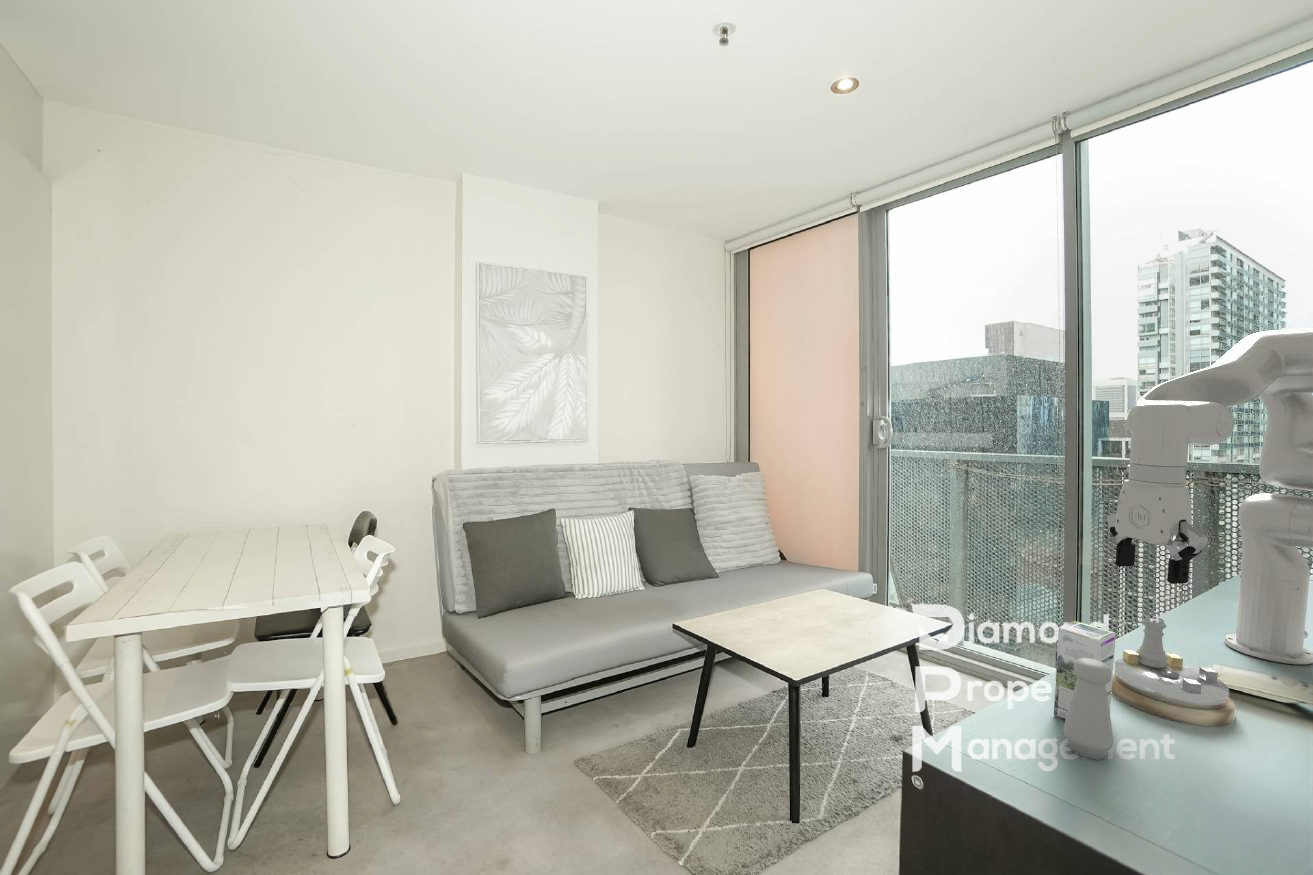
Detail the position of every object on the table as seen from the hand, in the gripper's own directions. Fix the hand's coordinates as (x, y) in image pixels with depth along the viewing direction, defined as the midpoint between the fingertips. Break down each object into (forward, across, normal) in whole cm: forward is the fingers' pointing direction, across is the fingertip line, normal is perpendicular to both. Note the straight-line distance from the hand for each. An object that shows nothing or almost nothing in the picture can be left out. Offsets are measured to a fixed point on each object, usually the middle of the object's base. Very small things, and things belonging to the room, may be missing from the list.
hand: (1149, 574), depth 104 cm
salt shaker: (+20, +17, -26) cm, 37 cm away
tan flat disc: (+20, +5, 0) cm, 20 cm away
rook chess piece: (+16, 0, +1) cm, 16 cm away
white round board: (+18, +5, 0) cm, 18 cm away
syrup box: (+20, +9, -20) cm, 30 cm away
